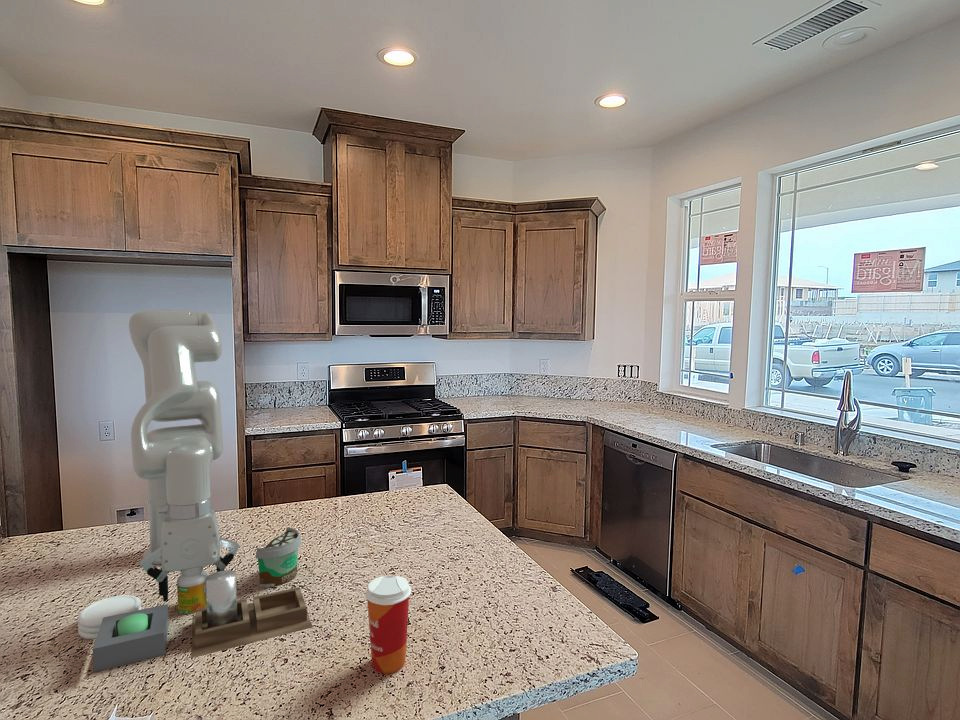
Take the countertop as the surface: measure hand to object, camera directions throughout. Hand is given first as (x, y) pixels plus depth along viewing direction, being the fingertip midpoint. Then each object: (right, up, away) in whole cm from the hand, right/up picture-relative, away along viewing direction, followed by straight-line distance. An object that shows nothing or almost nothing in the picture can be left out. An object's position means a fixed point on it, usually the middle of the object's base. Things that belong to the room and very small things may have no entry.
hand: (193, 592), depth 105 cm
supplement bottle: (0, -4, 0) cm, 4 cm away
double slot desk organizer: (+14, -4, -5) cm, 15 cm away
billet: (+9, -4, -7) cm, 12 cm away
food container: (+14, -3, +12) cm, 19 cm away
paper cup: (+42, -6, -15) cm, 45 cm away
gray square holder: (-3, -5, -13) cm, 14 cm away
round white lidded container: (-13, -5, -4) cm, 15 cm away
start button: (-3, -4, -13) cm, 14 cm away
